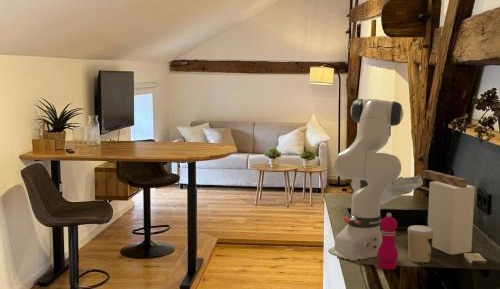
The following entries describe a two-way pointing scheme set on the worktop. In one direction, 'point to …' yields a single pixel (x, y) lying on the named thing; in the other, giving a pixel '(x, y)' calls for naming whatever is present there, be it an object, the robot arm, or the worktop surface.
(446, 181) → the walnut bar
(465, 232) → the cream stand
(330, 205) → the worktop surface
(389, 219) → the pepper mill
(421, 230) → the coffee cup
